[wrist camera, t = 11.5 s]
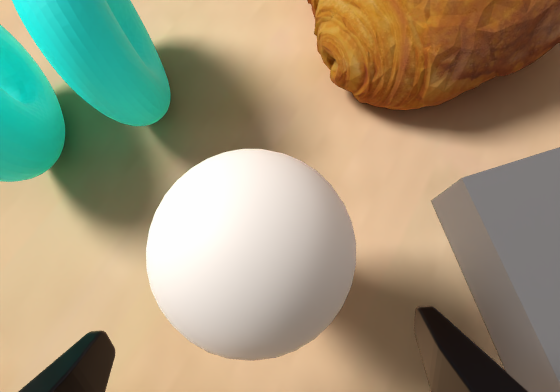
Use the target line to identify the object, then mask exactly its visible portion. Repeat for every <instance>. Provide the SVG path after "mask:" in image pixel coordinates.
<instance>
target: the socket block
mask: <svg viewBox="0 0 560 392" xmlns="http://www.w3.org/2000/svg"><path fill="white" fill-rule="evenodd" d="M431 202H432V204H433V207H434V209H435V211H436V214H437V216H438V218H439V220H440V223H441V225H442V227H443V229H444V232H445V234H446V236H447V238H448V241H449V243H450V245H451V248H452V250H453V252H454V254H455V257H456V259H457V261H458V263H459V266H460V268H461V270H462V273H463V275H464V277H465V279H466V282H467V284H468V286H469V288H470V291H471V293H472V295H473V298H474V300H475V302H476V304H477V307H478V309H479V311H480V313H481V316H482V318H483V320H484V323H485V325H486V327H487V329H488V332H489V334H490V336H491V338H492V341H493V343H494V345H495V347H496V350H497V352H498V354H499V357H500V359H501V361H502V363H503V366H504V368H505V370H506V372H507V373H508V374H509V375H510V376H511V377H513V378H514V379H515V380H516V381H517V382H518V383H519V384H520V385H522V386H523V387H524V388H525V389H526V390H527V391H528V392H560V147H559V148H556V149H553V150H549V151H546V152H543V153H540V154H537V155H534V156H530V157H527V158H524V159H521V160H518V161H514V162H511V163H508V164H505V165H502V166H499V167H495V168H492V169H489V170H486V171H483V172H479V173H476V174H473V175H470V176H467V177H464V178H461V179H460V180H458V181H457V182H456V183H454V184H453V185H452V186H450V187H449V188H448V189H446V190H445V191H444V192H442V193H441V194H440V195H438V196H437V197H435V198H434V199H433V200H431Z"/></svg>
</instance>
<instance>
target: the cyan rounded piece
mask: <svg viewBox="0 0 560 392" xmlns="http://www.w3.org/2000/svg"><path fill="white" fill-rule="evenodd" d="M12 1H13V4H14V6H15V8H16V10H17V12H18V14H19V16H20V18H21V20H22V22H23V23H24V25H25V27H26V29H27V30H28V32H29V34H30V35H31V37H32V38H33V40H34V42H35V43H36V45H37V46H38V47H39V49H40V50H41V52H42V53H43V55H44V56H45V57H46V59H47V60H48V61H49V63H50V64H51V65H52V66H53V68H54V69H55V70H56V71H57V73H58V74H59V75H60V76H61V77H62V78H63V80H64V81H65V82H66V83H67V84H68V85H69V86H70V87H71V88H72V89H73V90H74V91H75V92H76V93H77V94H78V95H79V96H80V97H81V98H82V99H84V100H85V101H86V102H87V103H88V104H90V105H91V106H92V107H94V108H95V109H96V110H98V111H99V112H101V113H102V114H104V115H105V116H107V117H109V118H111V119H113V120H115V121H118V122H120V123H123V124H127V125H131V126H147V125H151V124H153V123H155V122H157V121H159V120H160V119H161V118H162V117H163V116H164V115H165V114H166V112H167V111H168V108H169V105H170V100H171V93H170V87H169V82H168V79H167V76H166V73H165V70H164V67H163V65H162V62H161V60H160V58H159V55H158V53H157V51H156V49H155V47H154V44H153V42H152V40H151V38H150V36H149V34H148V32H147V30H146V28H145V26H144V25H143V23H142V21H141V19H140V17H139V15H138V13H137V11H136V10H135V8H134V6H133V4H132V3H131V1H130V0H12ZM64 142H65V123H64V118H63V114H62V110H61V107H60V104H59V102H58V99H57V97H56V94H55V92H54V90H53V88H52V87H51V85H50V83H49V81H48V80H47V78H46V76H45V75H44V73H43V72H42V70H41V69H40V67H39V66H38V65H37V63H36V62H35V61H34V59H33V58H32V57H31V56H30V54H29V53H28V52H27V51H26V50H25V48H24V47H23V46H22V45H21V44H20V43H19V42H18V41H17V40H16V39H15V38H14V37H13V36H12V35H11V34H10V33H9V32H8V31H7V30H6V29H5V28H4V27H3V26H1V25H0V181H5V182H14V181H22V180H27V179H31V178H34V177H36V176H38V175H41V174H43V173H44V172H46V171H47V170H48V169H50V168H51V167H52V166H53V165H54V164H55V162H56V161H57V160H58V158H59V157H60V155H61V152H62V150H63V147H64Z"/></svg>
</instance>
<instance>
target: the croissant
mask: <svg viewBox="0 0 560 392" xmlns="http://www.w3.org/2000/svg"><path fill="white" fill-rule="evenodd" d="M308 3H310V4H311V5H312V11H313V14H314V17H315V31H314V34H315V35H316V36H317V48H318V52H319V53H320V54H321V57H322V59H323V62H324V63H325V64H326V66H327V67H328V68H329V69H330V70H331V71H330V78H331V81H332V82H333V83H335V84H336V85H337V86H339V87H341V88H343V89H345V90H347V91H350V92H352V93H353V95H354V97H355V98H356V99H357V100H358V101H359V102H362V103H368V104H370V105H373V106H377V107H386V108H389V109H392V110H395V109H400V110H409V109H418V108H421V107H424V106H437V105H439V104H441V103H444V102H446V101H448V100H451V99H453V98H455V97H456V96H458V95H460V94H461V93H463V92H465V91H468V90H471V89H473V88H475V87H477V86H479V85H480V84H481V83H483V82H486V81H488V80H490V79H493V78H494V77H495V76H506V75H508V74H511V73H514V72H517V71H519V70H520V69H522V68H524V67H526V66H528V65H530V64H531V63H533V62H534V61H536V60H537V59H538V58H540V57H541V56H542V55H544V54H545V53H546V52H547V51H549V50H550V49H552V48H553V47H554V46H555V45H556V44H557V43H559V42H560V0H308Z"/></svg>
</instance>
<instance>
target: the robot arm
mask: <svg viewBox="0 0 560 392" xmlns="http://www.w3.org/2000/svg"><path fill="white" fill-rule="evenodd" d="M414 331H415V336H416V340H417V343H418V347H419V350H420V354H421V357H422V361H423V364H424V368H425V371H426V375H427V379H428V382H429V385H430V389H431V392H528V391H527V390H526V389H525V388H524V387H523V386H522V385H520V384H519V383H518V382H517V381H516V380H515V379H514V378H513V377H511V376H510V375H509V374H508V373H507V372H506V371H505V370H504V369H502V368H501V367H500V366H499V365H498V364H497V363H496V362H495V361H494V360H492V359H491V358H490V357H489V356H488V355H487V354H486V353H485V352H483V351H482V350H481V349H480V348H479V347H478V346H477V345H476V344H474V343H473V342H472V341H471V340H470V339H469V338H468V337H467V336H466V335H464V334H463V333H462V332H461V331H460V330H459V329H458V328H457V327H455V326H454V325H453V324H452V323H451V322H450V321H449V320H448V319H446V318H445V317H444V316H443V315H442V314H441V313H440V312H439V311H438V310H436V309H435V308H434V307H432V306H419V307H417V308H416V311H415V323H414ZM114 358H115V348H114V346H113V344H112V342H111V341H110V339H109V337H108V335H107V334H106V332H104V331H92V332H89V333H87V334H86V335H85V336H84V337H82V338H81V339H80V340H79V341H78V342H77V343H75V344H74V345H73V346H72V347H71V348H69V349H68V350H67V351H66V352H65V353H64V354H62V355H61V356H60V357H59V358H58V359H56V360H55V361H54V362H53V363H52V364H51V365H49V366H48V367H47V368H46V369H45V370H43V371H42V372H41V373H40V374H39V375H38V376H36V377H35V378H34V379H33V380H32V381H30V382H29V383H28V384H27V385H26V386H25V387H23V388H22V389H21V390H20V391H19V392H105V390H106V386H107V383H108V379H109V376H110V372H111V368H112V365H113V361H114Z"/></svg>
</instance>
